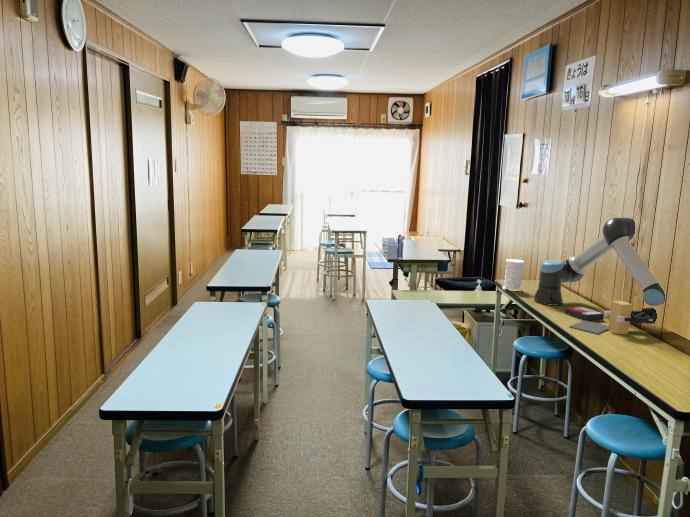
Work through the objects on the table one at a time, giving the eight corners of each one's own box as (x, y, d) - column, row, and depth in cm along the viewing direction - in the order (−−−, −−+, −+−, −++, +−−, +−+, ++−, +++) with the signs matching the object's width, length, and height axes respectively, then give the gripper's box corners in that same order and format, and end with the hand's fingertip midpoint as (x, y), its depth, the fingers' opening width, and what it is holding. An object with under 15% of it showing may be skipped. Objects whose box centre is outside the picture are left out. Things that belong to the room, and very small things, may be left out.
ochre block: (618, 329, 254) (623, 301, 252) (628, 333, 248) (632, 304, 246) (607, 330, 253) (611, 301, 250) (616, 334, 247) (621, 304, 245)
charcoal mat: (585, 321, 266) (585, 320, 265) (612, 328, 256) (612, 326, 256) (569, 327, 254) (569, 326, 254) (597, 334, 245) (597, 333, 245)
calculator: (581, 306, 282) (604, 312, 268) (580, 314, 283) (603, 321, 269) (565, 307, 278) (587, 313, 264) (564, 315, 279) (586, 322, 265)
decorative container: (525, 292, 323) (528, 262, 320) (506, 291, 322) (510, 262, 318) (516, 287, 335) (519, 259, 331) (498, 287, 333) (501, 258, 330)
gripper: (669, 330, 244) (626, 331, 239) (635, 316, 264) (595, 317, 259) (671, 314, 243) (628, 314, 238) (637, 302, 263) (597, 302, 257)
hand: (611, 316), depth 248 cm, fingers open, 8 cm apart
